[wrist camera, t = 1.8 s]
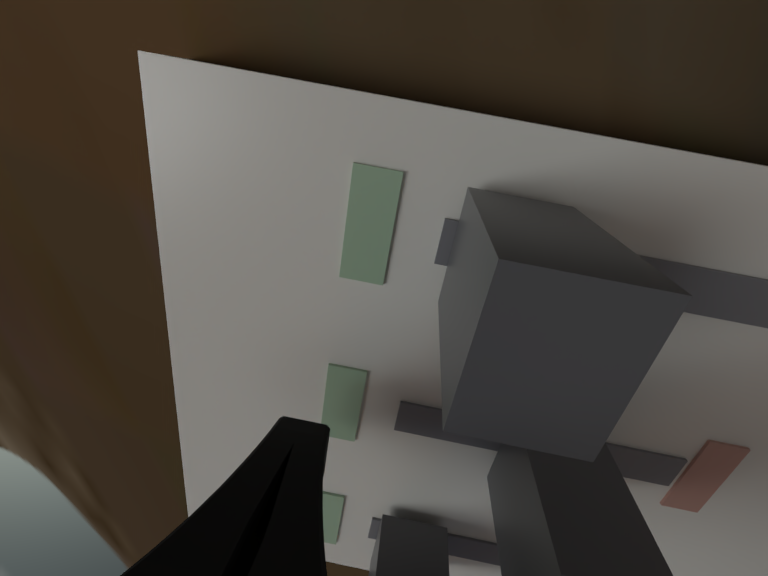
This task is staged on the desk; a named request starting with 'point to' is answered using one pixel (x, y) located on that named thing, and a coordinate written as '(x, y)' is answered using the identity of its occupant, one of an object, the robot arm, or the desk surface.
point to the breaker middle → (568, 517)
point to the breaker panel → (420, 303)
